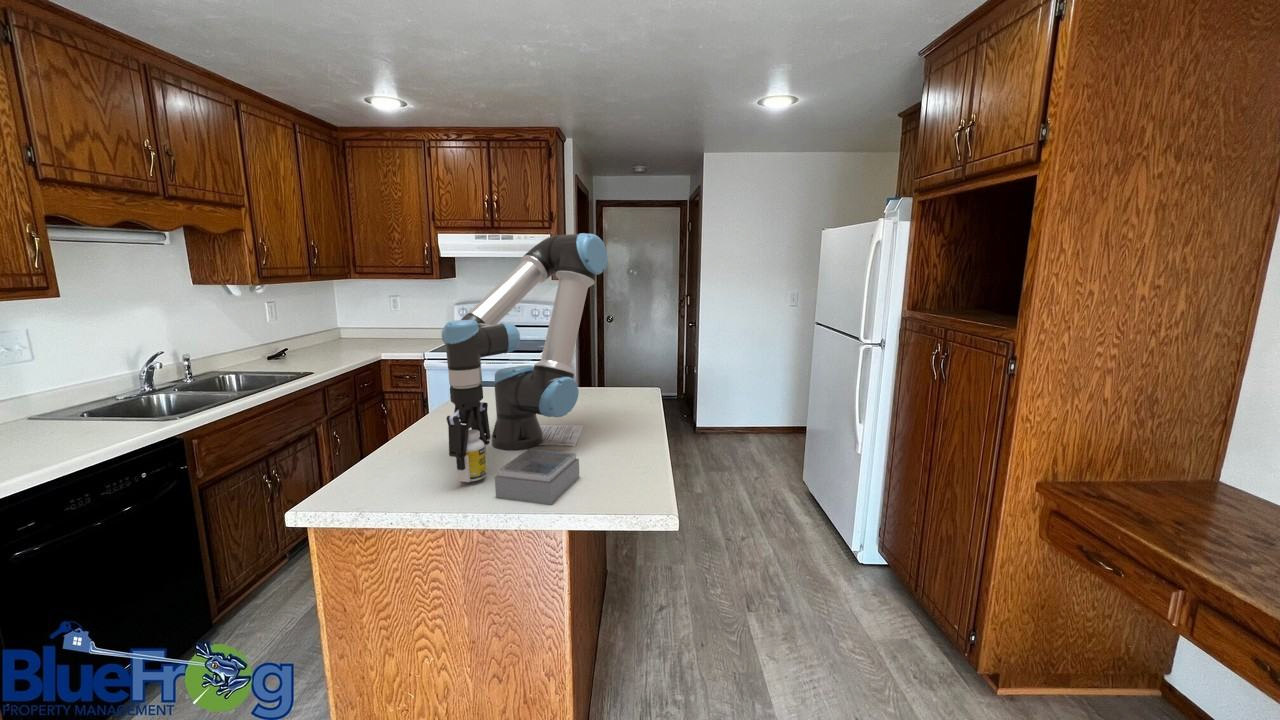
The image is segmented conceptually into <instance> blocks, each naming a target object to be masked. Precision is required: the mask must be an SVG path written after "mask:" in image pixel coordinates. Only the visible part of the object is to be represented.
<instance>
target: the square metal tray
mask: <svg viewBox="0 0 1280 720" xmlns="http://www.w3.org/2000/svg"><path fill="white" fill-rule="evenodd" d="M579 479H580V458H577V453H576V452H564V451H555V450H554V451H553V450H546V449H545V450H544V449H534V448H527V449H526V450H525V451H524V452H522V453H520V454H519V455H518V456H516V457H514V458H513V459H512V460H510V461H509V462H508V463H506V464H505V465H502V466H501V467H500V468H499V469H497V475H496V476H494V487H495V489H494V490H495V498H496V499H502V498H503V499H504V500H511V501H517V500H518V502H519V501H520V502H528V503H533V504H543V505H548V506H549V505H550V506H552V505H553V504H554V503H555V502H556V501H557V500H558V499H559V498H560V497H562V495H564V493H566V491H568V490H569V489H570V488H571V486H573V485H574V484H575V483H576V482H577V481H578V480H579ZM503 499H502V500H503Z"/></svg>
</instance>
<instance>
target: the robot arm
mask: <svg viewBox="0 0 1280 720" xmlns="http://www.w3.org/2000/svg"><path fill="white" fill-rule="evenodd" d="M607 251H608V250H607V248H606V245H605V243H604V241H603V240H602V239H601V238H600V237H599V236H598V235H596V234H593V233H585V232H582V233H573V234H555V235H552V236H549V237H547V238H545V239H542V241H540V242H539V243H537V244H536V245H535V246H533V247H532V248H530V249H529V250H528V251H527V252H526V253H525V254H524V255H522V257H521V258H520V260H519V264H518V265H517V266H516V267H515V268H514V269H513V270H512V271H511V272H510V273H508V275H507V276H505V278H504V279H502V280H501V282H499V283H497V285H496V286H495V287H494V288H493V289H492V290H490V292H489V293H488V294H487V295H485V296H484V297H483V298H482V299H481V300H480V301H479V302H477V304H476V305H475V306H474V307H473V308H472V309H471V310H469V311H468V312H467V313H466V314H465V315H463V317H462V318H460V319H456V320H451V321H448V322H447V323H445V325H444V326H443V327H442V331H441V339H442V340H441V341H443V344H444V345H445V351H446V361H447V363H446V364H447V368H448V369H447V372H448V381H449V382H448V383H449V385H450V387H449V398H450V402H451V403H452V404H453V405H454V411H453V414H451V415H447V416H446V423H447V426H448V427H447V428H448V429H447V430H448V456H449V457H453V458H455V459H456V460H455V461H456V468H457V475H458V481H459V482H463V483H470V482H471V481H470V470H469V458H468V455H466V449H467V440H468V432H469V430H479V431H480V437H479V439H480V440H482V441H483V442H484V445H485V459H486V460H487V450H486V449H487V447H486V445H487V446H489V444H490V439H491V445H492V446H493V447H494V448H496V449H499V450H510V451H511V450H525V449H531V448H533V447H536V446H539V445H541V443H542V442H543V441H544V435H543V430H542V428H541V424H540V422H539V420H538V417H537V415H541V416H544V417H548V418H561V417H565V416H566V415H568V413H570V412H572V410H573V409H574V408H575V406H576V403H577V402H578V398H579V395H580V394H579V393H580V391H579V388H578V387H579V386H578V383H577V381H576V380H575V379H574V377H575V372H574V370H573V369H572V367H571V366H572V360H573V356H574V352H575V348H576V343H577V340H578V335H579V328H580V325H581V321H582V316H583V312H584V306H585V304H586V303H585V302H586V298H587V294H588V289H589V288H590V287H592V286H593V285H595V281H596V277H597V275H598V276H599V275H601V274H602V273H603V272H605V270H606V269H607V266H608V258H609V257H608V252H607ZM553 276H556V278H557V280H558V285H557V289H556V292H555V297H554V300H553V301H554V302H553V306H552V311H551V314H550V319H549V323H548V324H549V325H548V328H547V334H546V338H545V341H544V346H543V349H542V354H541V359H540V360H539V361H538V362H536V363H535V364H534V366H533V365H531V364H530V365H519V366H517V365H516V366H511V367H504V368H500V369H498V370H497V371H496V372H495V373H494V382H493V385H494V399H495V409H496V410H495V411H496V421H495V424H494V427H493V431H492V434H491V431H490V430H491V429H490V423H489V415H488V402H483V401H482V400H483V399H484V388H483V385H482V384H481V383H482V382H483V374H482V365H481V364H482V361H481V360H482V358H485V357H491V356H496V355H497V356H498V355H502V354H504V355H505V354H507V353H511V352H514V351H517V349H518V347H519V346H520V343H521V333H520V331H519V329H518V327H517V326H515V324H513V323H510V322H508V323H503V322H501V320H503V318H505V317H506V316H507V315H508V314H509V313H510V312H511V311H512V309H513V308H515V306H516V305H518V304H519V303H520V302H521V301H522V300H523V298H524V297H526V296H527V295H528V294H529V293H530V292H531V291H532V290H533V289H534V287H536V286H537V285H538V284H540V283H541V284H542V283H544V282H545V281H546V280H547V279H549V278H550V277H553ZM500 322H501V323H500ZM487 470H488V466H487V464H486V471H487Z"/></svg>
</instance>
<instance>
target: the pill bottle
mask: <svg viewBox="0 0 1280 720" xmlns="http://www.w3.org/2000/svg"><path fill="white" fill-rule="evenodd" d="M479 437H480V431H479V430H472V429H469V432H468V440H467V449H466V455H468V458H469V470H470V482H476V481H480V480H482V479H484V478H485V477H487V470H486V465H487V458H486V459H485V447H486V445H484V442H483V441H482V440H480V439H479Z"/></svg>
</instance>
